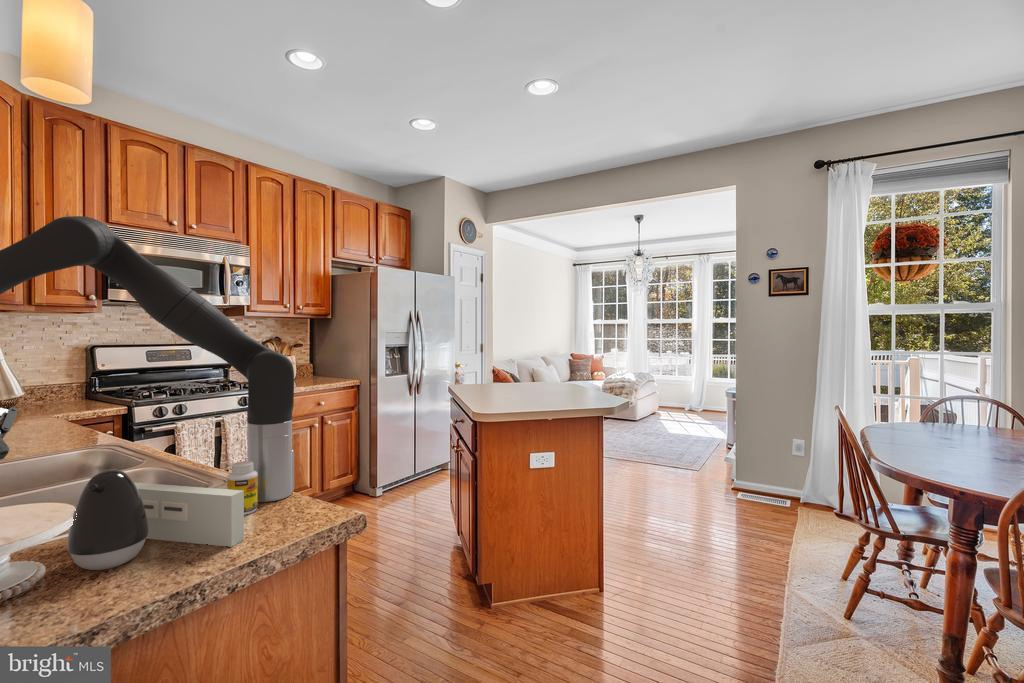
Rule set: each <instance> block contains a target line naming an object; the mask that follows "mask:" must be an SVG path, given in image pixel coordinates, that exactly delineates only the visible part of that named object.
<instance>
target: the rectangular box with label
mask: <svg viewBox="0 0 1024 683" xmlns="http://www.w3.org/2000/svg"><path fill="white" fill-rule="evenodd" d="M133 482H134V484H135V485H136V487H137V489H138V491H139V494H140V496H141V499H142V502H143V505H144V508H145V512H146V516H147V521H148V536H147V537H146V539H148V540H156V541H158V540H159V541H167V542H175V543H176V542H177V543H185V542H186V543H188V544H199V545H206V544H208V545H209V546H219V547H226V546H228V548H232V546H233V547H234V546H236V545H237V543H238V544H239V543H241V542H243V541H244V540H245V515H244V491H242V490H229V489H227V488H226V489H225V488H214V487H200V486H187V485H176V484H175V485H172V484H160V483H147V482H135V481H133ZM146 539H145V540H146ZM242 540H243V541H242Z"/></svg>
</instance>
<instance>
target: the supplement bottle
mask: <svg viewBox="0 0 1024 683" xmlns="http://www.w3.org/2000/svg"><path fill="white" fill-rule="evenodd" d="M253 468H254V467H253V462H251V461H247V460H245V461H238V462H234V463H232V464H231V472H230V473H229V474H228V475H227V478H226V480H227V481H226V484H227V485H226V487H227V488H226V489H229V490H242V491H244V516H248V515H251V514H252V513H254V512H256V511H257V509H258V502H257V482H258V474H257V472H256V471H254V470H253ZM247 514H248V515H247Z"/></svg>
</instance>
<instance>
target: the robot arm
mask: <svg viewBox="0 0 1024 683" xmlns="http://www.w3.org/2000/svg"><path fill="white" fill-rule="evenodd" d="M85 266H89V267H90V268H92V269H94V270H96V271H98V272H100V273H101V274H103V275H104V276H106V277H108V278H109V279H111V280H113V281H114V282H115V283H117V284H118V285H120V286H121V287H122V288H123V289H124V290H126V292H127V293H128V294H129V295H130V296H131V297H132V298H133V300H134V301H135V302H136V303H137V304H138V305H139V306H140V308H142V309H143V310H144V311H145V312H146V313H147V314H148V315H149V316H150V317H151V318H152V319H154V320H155V321H156V322H158V323H159V324H160V325H162V326H163V327H165V329H168V330H169V331H171V332H172V333H174V334H176V335H177V336H178V337H180V338H182V339H184V340H186V341H188V342H189V343H191V344H193V345H195V346H197V348H198V347H199V348H201V349H203V350H205V351H207V352H209V353H210V354H213V355H215V356H216V357H218V358H221V360H223V361H224V362H226V363H228V365H229V366H231V367H232V368H234V369H235V370H236V371H238V372H239V373H240V374H241V375H242V376H243V377H244V378H245V379H247V384H248V385H247V410H246V420H247V421H246V422H247V423H246V426H247V427H246V428H247V429H246V430H247V432H246V433H247V438H246V441H247V442H246V446H247V448H246V449H247V450H246V451H247V452H246V453H247V455H246V458H247V460H246V461H251V462H253V467H254V468H253V470H254V471H256V472H257V474H258V482H257V503H265V502H266V503H267V502H275V501H279V500H284V499H285V498H288V497H289V496H291V495H292V493H293V491H294V490H295V451H294V449H293V410H294V402H295V401H294V400H295V399H294V398H295V397H294V396H295V370H294V365H293V363H292V361H291V360H290V359H289V357H288V356H286V355H285V354H283V353H282V352H278V351H275V350H273V349H271V348H269V347H267V346H266V345H264V344H263V343H260V342H259V341H257V340H256V339H254V338H252V337H251V336H249V335H248V334H246V333H245V332H244V331H242V330H241V329H240V328H239V327H238V326H236V324H235V323H234V322H233V321H232V320H231V319H230V318H228V317H227V316H226V315H225V314H224V313H223V312H222V311H221V310H219V309H218V308H217V306H215V305H214V304H212V303H211V301H209V300H207V299H206V298H204V297H203V296H201V295H200V294H199V293H198V292H196V291H195V290H193V289H192V288H190V287H188V285H186V284H184V283H183V282H181V281H180V280H179V279H177V278H175V277H174V276H172V275H171V274H170V273H168V272H167V271H165V270H163V269H162V268H160V267H158V265H156V264H154V263H153V262H151V261H150V260H148V259H146V258H145V257H144V256H143V255H142V254H140V253H139V252H138V251H137V250H135V248H133V247H132V246H131V245H130V244H128V243H127V242H126V241H125V240H124V239H123V238H122V237H121V236H120V235H118V234H117V232H116V233H115V231H114V230H113V229H111V228H110V226H107V225H106V224H105V223H104V222H101V220H98V219H96V218H92V217H89V216H80V215H78V216H77V215H76V216H75V215H73V216H72V215H71V216H70V215H69V216H61V217H57V218H55V219H53V220H52V221H50V222H48V223H47V224H45V225H44V226H42V227H40V228H39V229H37V230H35V231H34V232H32V233H30V234H29V235H27V236H26V237H24V238H22V239H21V240H18V241H17V242H14V243H13V244H11V245H8V246H7V247H5V248H3V249H0V295H2V294H4V293H6V292H7V291H10V290H11V289H14V288H15V287H16V286H19V285H21V284H23V283H25V282H27V281H29V280H31V279H33V278H36V277H39V276H42V275H45V274H48V273H52V272H57V271H61V270H64V269H69V268H73V267H85ZM18 412H19V409H18V408H17V407H14V406H12V407H10V408H8V409H7V408H4V407H0V460H1V461H2V460H4V459H5V458H6V456H7V455H8V454H9V452H10V447H9V445H8V444H6V442H5V440H4V438H5V436H6V435H7V433H8V432H10V430H12V427H13V424H14V422H15V419H16V417H17V415H18ZM290 492H292V493H290Z"/></svg>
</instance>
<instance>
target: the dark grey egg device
mask: <svg viewBox="0 0 1024 683" xmlns="http://www.w3.org/2000/svg"><path fill="white" fill-rule="evenodd" d="M134 482H135V481H134V480H133V479H132V478H131V477H130V476H129V474H128V473H126V472H125V471H123V470H119V469H115V468H114V469H113V468H111V469H104V470H102V471H99V472H98V473H96V474H94V475H93V476H92V477H91V478H90V479H89V480H88V481H87V483H86V484H85V486H84V488H83V489H82V491H81V493H80V495H79V498H78V499H77V502H76V505H75V508H74V511H73V514H72V517H73V519H74V521H73V525H72V526H71V527H70V526H69V530H68V533H67V539H66V540H67V541H66V542H67V543H66V549H67V552H68V553H69V554H70V556H71V559H72V561H73V562H74V564H75V565H77V566H78V567H81V568H82V569H85V570H88V571H89V570H90V571H103V570H110V569H113V568H117V567H119V566H122V565H123V564H125V563H127V562H129V561H130V560H132V559H133V558H135V557H136V556H137V555H138V554H139V553H140V552H141V550H142V549H143V546H145V545H144V544H145V542H146V537H147V536H148V521H147V516H146V512H145V508H144V505H143V502H142V499H141V496H140V494H139V491H138V489H137V487H136V485H135V484H134ZM75 509H76V511H75ZM76 513H77V515H76ZM76 516H77V517H76ZM75 519H76V520H75Z"/></svg>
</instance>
